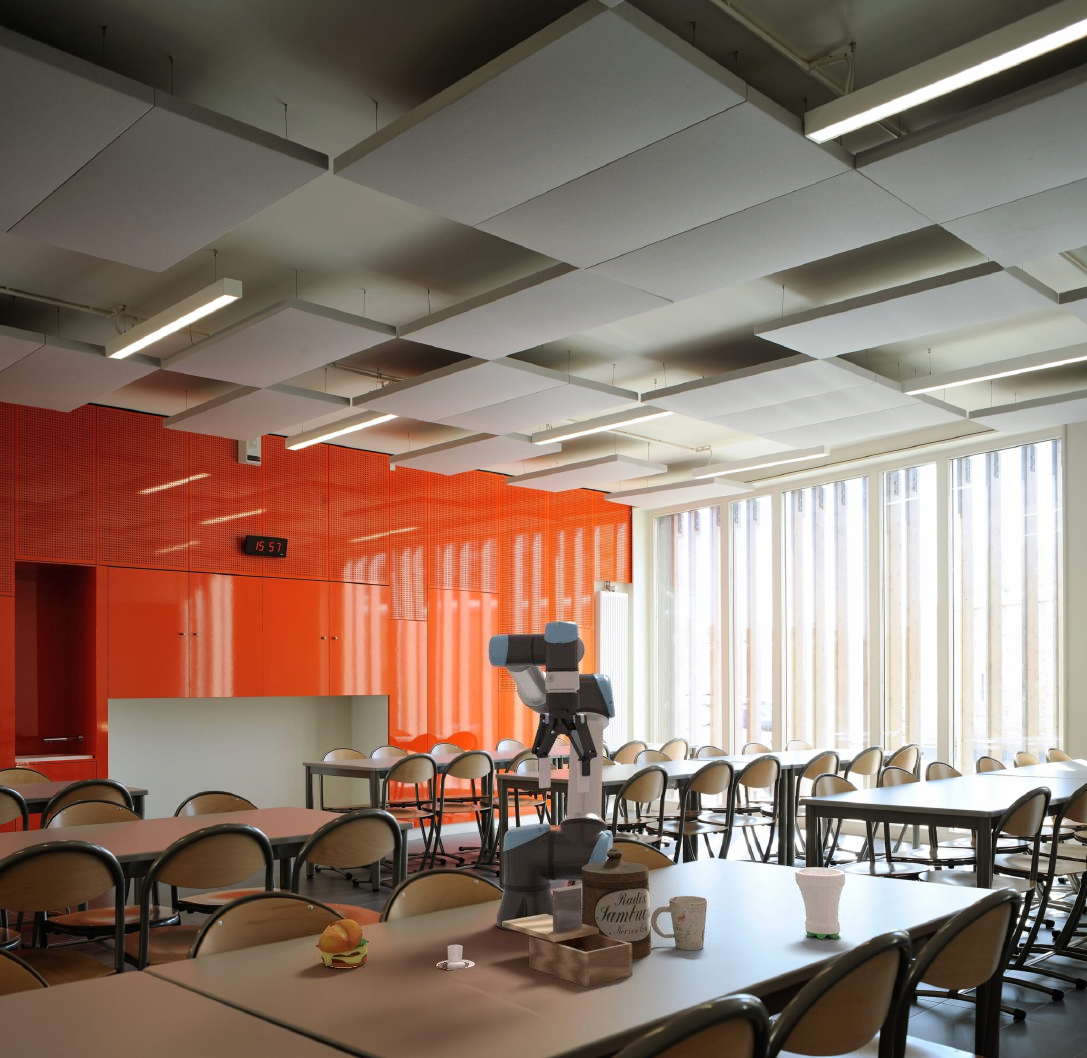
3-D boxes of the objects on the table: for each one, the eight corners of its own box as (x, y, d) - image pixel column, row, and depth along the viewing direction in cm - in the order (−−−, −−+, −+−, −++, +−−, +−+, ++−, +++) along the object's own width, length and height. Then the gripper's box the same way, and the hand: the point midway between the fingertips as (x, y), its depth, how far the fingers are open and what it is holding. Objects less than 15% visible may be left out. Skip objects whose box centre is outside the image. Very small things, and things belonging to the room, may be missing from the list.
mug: (707, 952, 220) (706, 904, 221) (649, 950, 222) (648, 902, 224) (709, 943, 228) (707, 896, 229) (653, 941, 230) (651, 894, 232)
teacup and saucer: (463, 974, 206) (463, 953, 207) (427, 971, 209) (428, 950, 209) (480, 963, 214) (480, 943, 215) (446, 960, 217) (446, 940, 217)
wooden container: (605, 967, 209) (602, 855, 213) (570, 951, 222) (568, 846, 225) (665, 957, 216) (661, 850, 219) (627, 942, 229) (625, 841, 232)
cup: (794, 939, 230) (791, 874, 232) (801, 928, 240) (798, 866, 242) (845, 943, 226) (842, 876, 228) (850, 932, 236) (847, 868, 238)
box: (529, 969, 207) (529, 936, 208) (575, 960, 214) (574, 927, 216) (585, 989, 193) (585, 953, 194) (632, 978, 200) (631, 943, 201)
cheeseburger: (379, 958, 217) (374, 913, 216) (354, 984, 207) (350, 937, 206) (337, 954, 221) (333, 910, 220) (311, 979, 210) (306, 933, 210)
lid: (502, 926, 216) (502, 882, 218) (545, 918, 223) (545, 875, 225) (554, 942, 202) (553, 894, 203) (598, 933, 209) (597, 887, 210)
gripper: (515, 692, 233) (516, 787, 230) (585, 691, 214) (587, 795, 210) (541, 691, 238) (542, 785, 234) (612, 690, 218) (614, 792, 215)
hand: (563, 790), depth 222 cm, fingers open, 13 cm apart
